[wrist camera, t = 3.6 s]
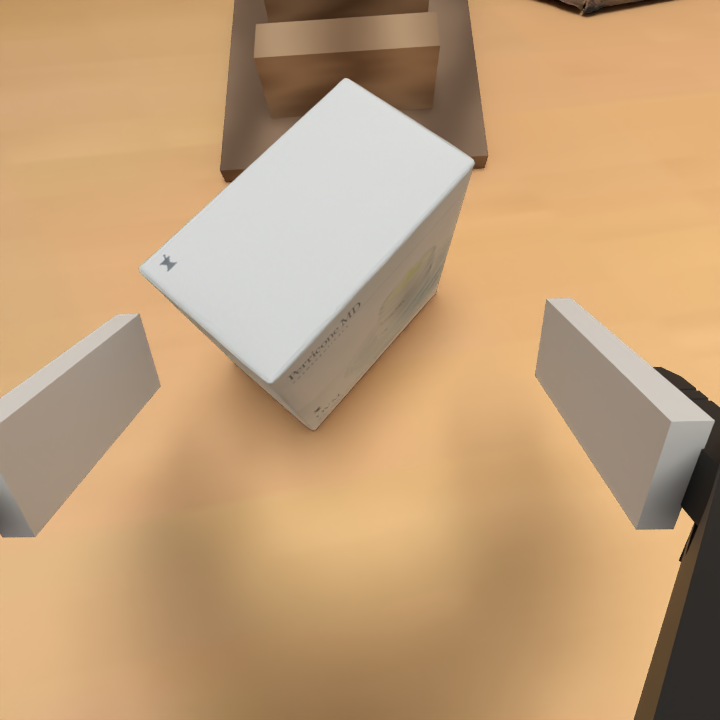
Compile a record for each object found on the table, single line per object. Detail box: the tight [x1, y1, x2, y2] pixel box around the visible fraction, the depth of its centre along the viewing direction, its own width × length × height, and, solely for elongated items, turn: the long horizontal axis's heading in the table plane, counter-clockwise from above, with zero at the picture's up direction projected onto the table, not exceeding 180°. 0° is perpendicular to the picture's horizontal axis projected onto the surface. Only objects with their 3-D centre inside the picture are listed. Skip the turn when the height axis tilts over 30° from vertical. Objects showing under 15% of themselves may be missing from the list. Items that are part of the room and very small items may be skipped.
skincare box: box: [139, 78, 475, 431], centre depth 20 cm, size 10×6×10 cm, turn 139°
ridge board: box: [220, 0, 488, 182], centre depth 27 cm, size 16×16×5 cm
